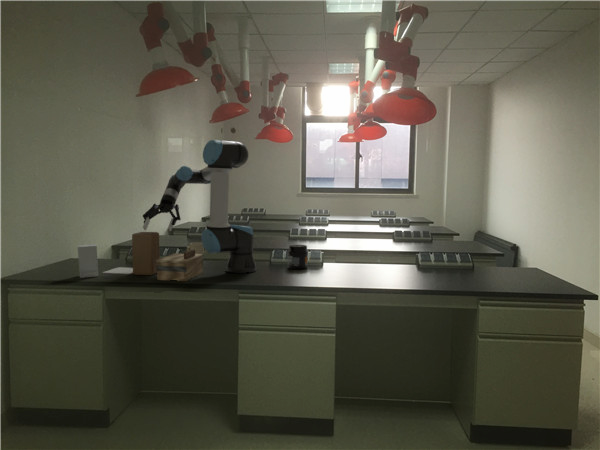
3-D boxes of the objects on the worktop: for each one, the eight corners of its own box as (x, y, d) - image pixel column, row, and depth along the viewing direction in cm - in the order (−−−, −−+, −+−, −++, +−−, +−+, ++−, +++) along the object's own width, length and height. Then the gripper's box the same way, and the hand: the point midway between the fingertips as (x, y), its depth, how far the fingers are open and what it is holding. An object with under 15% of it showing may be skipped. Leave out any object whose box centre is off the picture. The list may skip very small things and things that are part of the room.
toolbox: (202, 272, 227) (202, 256, 226) (186, 281, 207) (186, 263, 206) (175, 271, 229) (175, 255, 229) (156, 280, 209) (156, 262, 208)
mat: (143, 269, 235) (143, 268, 235) (129, 274, 221) (129, 273, 221) (118, 268, 237) (118, 267, 237) (102, 273, 223) (102, 272, 223)
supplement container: (309, 267, 246) (309, 244, 245) (305, 270, 236) (305, 247, 235) (290, 265, 249) (291, 244, 248) (285, 269, 239) (285, 246, 238)
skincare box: (98, 274, 220) (97, 243, 219) (98, 276, 215) (97, 245, 214) (78, 275, 217) (77, 244, 215) (78, 278, 211) (77, 246, 210)
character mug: (209, 266, 244) (209, 242, 243) (205, 269, 237) (205, 244, 236) (189, 266, 245) (188, 242, 244) (184, 268, 238) (184, 243, 237)
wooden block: (160, 271, 229) (159, 231, 227) (152, 275, 219) (151, 234, 217) (141, 271, 230) (140, 231, 228) (132, 275, 220) (131, 233, 218)
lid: (203, 256, 226) (203, 248, 226) (186, 263, 206) (186, 254, 206) (175, 255, 229) (175, 247, 228) (155, 262, 208) (155, 253, 208)
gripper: (193, 203, 248) (182, 234, 234) (150, 203, 252) (136, 233, 238) (189, 194, 242) (177, 225, 229) (145, 193, 246) (131, 223, 233)
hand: (156, 229), depth 234 cm, fingers open, 13 cm apart
